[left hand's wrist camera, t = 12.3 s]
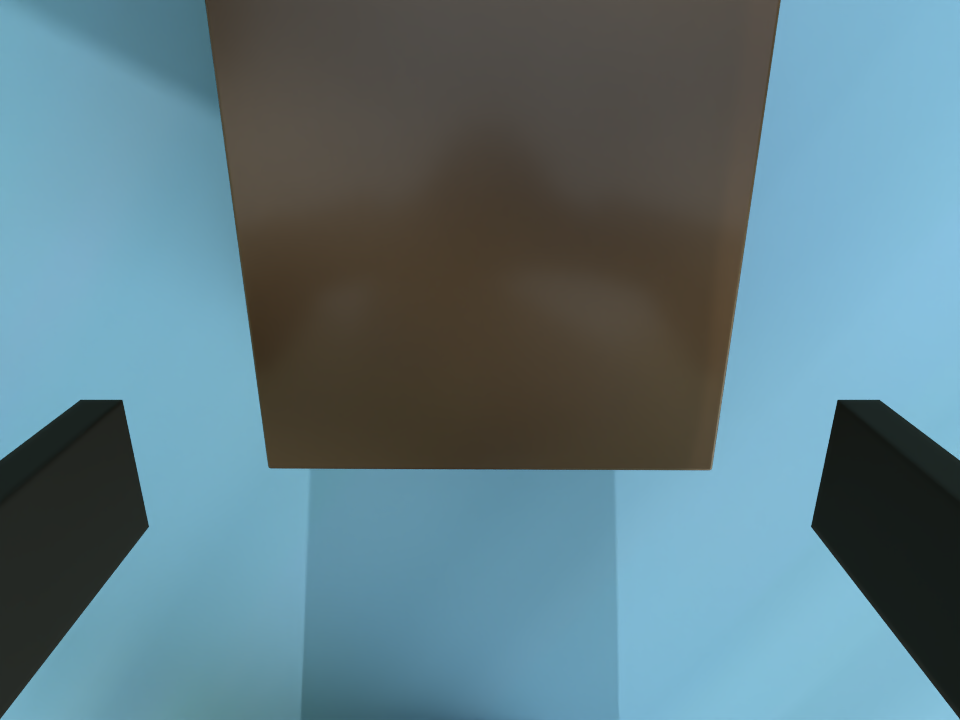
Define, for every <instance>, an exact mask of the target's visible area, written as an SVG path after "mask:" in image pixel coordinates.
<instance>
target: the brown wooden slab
mask: <svg viewBox="0 0 960 720" xmlns="http://www.w3.org/2000/svg"><path fill="white" fill-rule="evenodd" d="M780 1H781V0H205V4H206V11H207V19H208V26H209V34H210V41H211V48H212V56H213V63H214V70H215V78H216V85H217V92H218V100H219V107H220V114H221V122H222V129H223V137H224V144H225V151H226V159H227V166H228V173H229V181H230V188H231V195H232V203H233V210H234V218H235V225H236V232H237V240H238V247H239V254H240V262H241V269H242V276H243V284H244V291H245V298H246V306H247V313H248V321H249V328H250V335H251V343H252V350H253V357H254V365H255V372H256V379H257V387H258V394H259V401H260V409H261V416H262V424H263V431H264V438H265V446H266V453H267V460H268V467H269V468H302V469H533V470H711V469H712V464H713V458H714V451H715V444H716V437H717V430H718V424H719V417H720V410H721V403H722V396H723V390H724V383H725V376H726V369H727V362H728V355H729V349H730V342H731V335H732V328H733V321H734V315H735V308H736V301H737V294H738V287H739V281H740V274H741V267H742V260H743V253H744V246H745V240H746V233H747V226H748V219H749V212H750V206H751V199H752V192H753V185H754V178H755V172H756V165H757V158H758V151H759V144H760V137H761V131H762V124H763V117H764V110H765V103H766V97H767V90H768V83H769V76H770V69H771V63H772V56H773V49H774V42H775V35H776V28H777V22H778V15H779V8H780Z"/></svg>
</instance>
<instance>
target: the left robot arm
mask: <svg viewBox="0 0 960 720" xmlns="http://www.w3.org/2000/svg"><path fill="white" fill-rule="evenodd" d="M148 527H149V525H148V520H147V516H146V511H145V506H144V501H143V496H142V492H141V487H140V482H139V477H138V472H137V468H136V463H135V458H134V453H133V449H132V444H131V439H130V434H129V429H128V425H127V420H126V415H125V410H124V406H123V401H122V400H80V401H79V402H77V403H76V404H75V405H73V406H72V407H71V408H69V409H68V410H67V411H65V412H64V413H63V414H61V415H60V416H59V417H57V418H56V419H55V420H53V421H52V422H51V423H49V424H48V425H47V426H45V427H44V428H43V429H41V430H40V431H39V432H37V433H36V434H35V435H33V436H32V437H31V438H29V439H28V440H27V441H25V442H24V443H23V444H22V445H20V446H19V447H18V448H16V449H15V450H14V451H12V452H11V453H10V454H8V455H7V456H6V457H4V458H3V459H2V460H0V719H1V717H2V716H3V715H4V713H5V712H6V711H7V709H8V708H9V707H10V706H11V704H12V703H13V702H14V700H15V699H16V698H17V697H18V695H19V694H20V693H21V691H22V690H23V689H24V688H25V686H26V685H27V684H28V682H29V681H30V680H31V678H32V677H33V676H34V675H35V673H36V672H37V671H38V669H39V668H40V667H41V666H42V664H43V663H44V662H45V660H46V659H47V658H48V656H49V655H50V654H51V653H52V651H53V650H54V649H55V647H56V646H57V645H58V644H59V642H60V641H61V640H62V638H63V637H64V636H65V634H66V633H67V632H68V631H69V629H70V628H71V627H72V625H73V624H74V623H75V622H76V620H77V619H78V618H79V616H80V615H81V614H82V613H83V611H84V610H85V609H86V607H87V606H88V605H89V603H90V602H91V601H92V600H93V598H94V597H95V596H96V594H97V593H98V592H99V591H100V589H101V588H102V587H103V585H104V584H105V583H106V581H107V580H108V579H109V578H110V576H111V575H112V574H113V572H114V571H115V570H116V569H117V567H118V566H119V565H120V563H121V562H122V561H123V560H124V558H125V557H126V556H127V554H128V553H129V552H130V550H131V549H132V548H133V547H134V545H135V544H136V543H137V541H138V540H139V539H140V538H141V536H142V535H143V534H144V532H145V531H146V530H147V528H148ZM811 527H812V528H813V530H814V531H815V532H816V534H817V535H818V536H819V538H820V539H821V540H822V541H823V543H824V544H825V545H826V547H827V548H828V549H829V550H830V552H831V553H832V554H833V556H834V557H835V558H836V560H837V561H838V562H839V563H840V565H841V566H842V567H843V569H844V570H845V571H846V572H847V574H848V575H849V576H850V578H851V579H852V580H853V581H854V583H855V584H856V585H857V587H858V588H859V589H860V591H861V592H862V593H863V594H864V596H865V597H866V598H867V600H868V601H869V602H870V603H871V605H872V606H873V607H874V609H875V610H876V611H877V613H878V614H879V615H880V616H881V618H882V619H883V620H884V622H885V623H886V624H887V625H888V627H889V628H890V629H891V631H892V632H893V633H894V634H895V636H896V637H897V638H898V640H899V641H900V642H901V644H902V645H903V646H904V647H905V649H906V650H907V651H908V653H909V654H910V655H911V656H912V658H913V659H914V660H915V662H916V663H917V664H918V666H919V667H920V668H921V669H922V671H923V672H924V673H925V675H926V676H927V677H928V678H929V680H930V681H931V682H932V684H933V685H934V686H935V688H936V689H937V690H938V691H939V693H940V694H941V695H942V697H943V698H944V699H945V700H946V702H947V703H948V704H949V706H950V707H951V708H952V709H953V711H954V712H955V713H956V715H957V716H958V717H959V719H960V460H958V459H957V458H956V457H954V456H953V455H952V454H950V453H949V452H948V451H946V450H945V449H944V448H942V447H941V446H940V445H938V444H937V443H936V442H935V441H933V440H932V439H931V438H929V437H928V436H927V435H925V434H924V433H923V432H921V431H920V430H919V429H917V428H916V427H915V426H913V425H912V424H911V423H909V422H908V421H907V420H905V419H904V418H903V417H901V416H900V415H899V414H897V413H896V412H895V411H893V410H892V409H891V408H889V407H888V406H887V405H885V404H884V403H883V402H881V401H880V400H838V401H837V406H836V410H835V415H834V420H833V425H832V429H831V434H830V439H829V444H828V449H827V453H826V458H825V463H824V468H823V472H822V477H821V482H820V487H819V492H818V496H817V501H816V506H815V511H814V516H813V520H812V525H811Z"/></svg>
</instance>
